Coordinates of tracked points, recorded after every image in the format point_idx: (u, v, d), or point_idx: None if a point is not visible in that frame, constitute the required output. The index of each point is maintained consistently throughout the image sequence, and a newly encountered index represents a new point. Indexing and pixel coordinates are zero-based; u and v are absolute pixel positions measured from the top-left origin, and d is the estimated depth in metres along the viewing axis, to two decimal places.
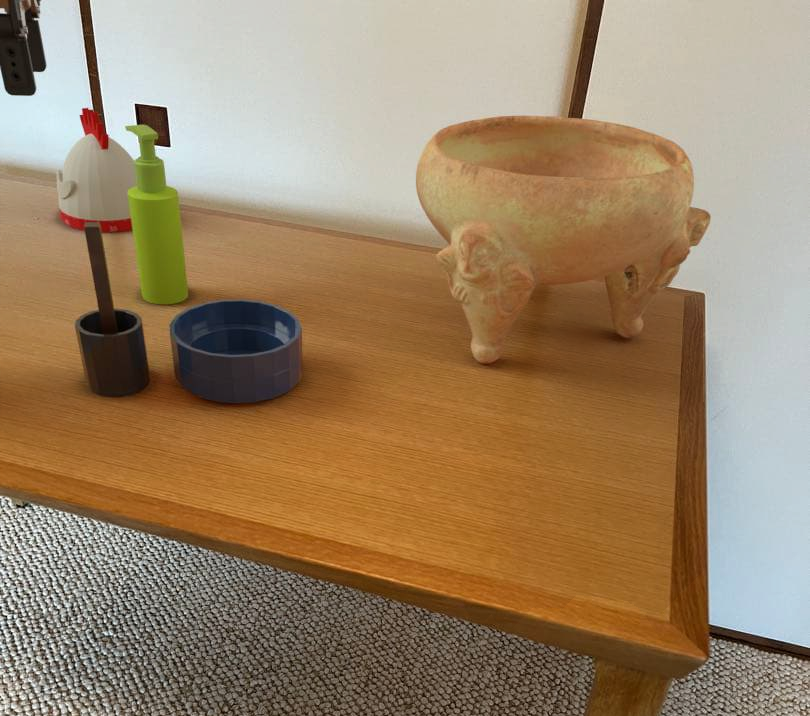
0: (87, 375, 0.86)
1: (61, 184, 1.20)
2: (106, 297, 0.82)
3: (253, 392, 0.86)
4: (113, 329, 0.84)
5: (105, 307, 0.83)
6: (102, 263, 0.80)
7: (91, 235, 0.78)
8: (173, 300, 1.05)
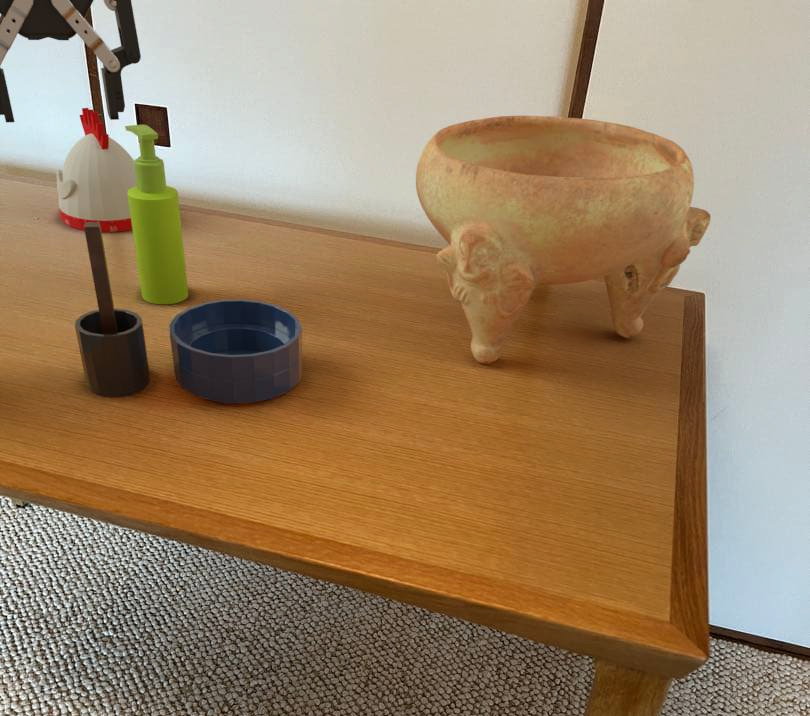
0: (87, 375, 0.86)
1: (61, 184, 1.20)
2: (106, 297, 0.82)
3: (253, 392, 0.86)
4: (113, 329, 0.84)
5: (105, 307, 0.83)
6: (102, 263, 0.80)
7: (91, 235, 0.78)
8: (173, 300, 1.05)
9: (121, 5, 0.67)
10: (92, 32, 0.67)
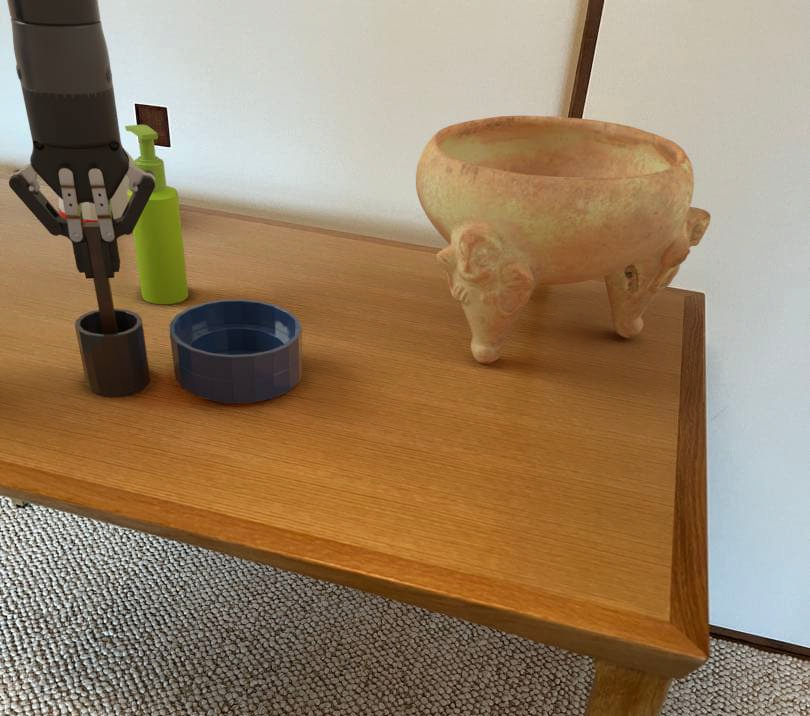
0: (87, 375, 0.86)
1: None
2: (106, 297, 0.82)
3: (253, 392, 0.86)
4: (113, 329, 0.84)
5: (105, 307, 0.83)
6: (102, 263, 0.80)
7: (91, 235, 0.78)
8: (173, 300, 1.05)
9: (140, 194, 0.76)
10: (107, 208, 0.76)
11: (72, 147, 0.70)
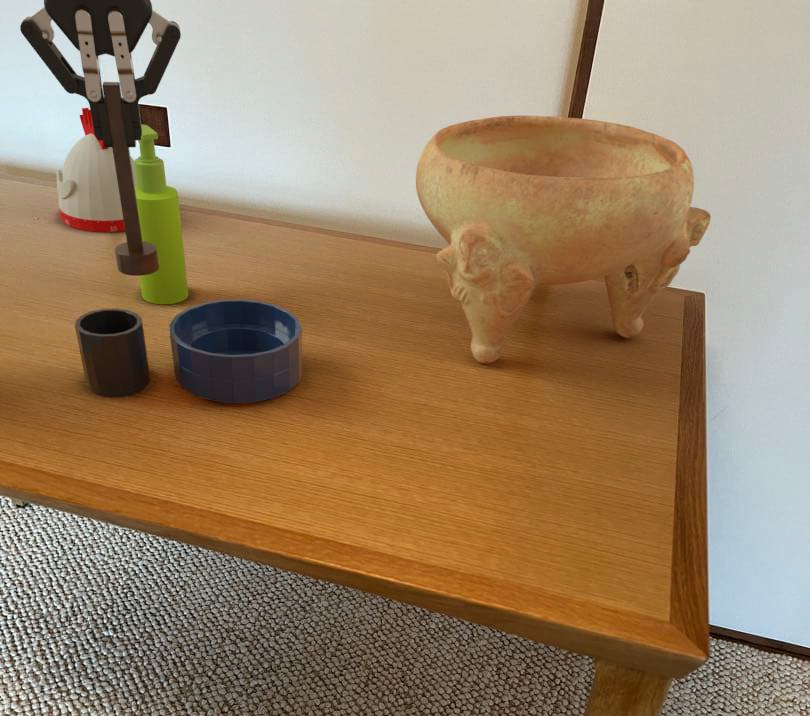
0: (87, 375, 0.86)
1: (61, 184, 1.20)
2: (126, 171, 0.75)
3: (253, 392, 0.86)
4: (133, 210, 0.77)
5: (125, 182, 0.76)
6: (122, 129, 0.73)
7: (110, 95, 0.71)
8: (173, 300, 1.05)
9: (164, 45, 0.69)
10: (128, 61, 0.69)
11: None
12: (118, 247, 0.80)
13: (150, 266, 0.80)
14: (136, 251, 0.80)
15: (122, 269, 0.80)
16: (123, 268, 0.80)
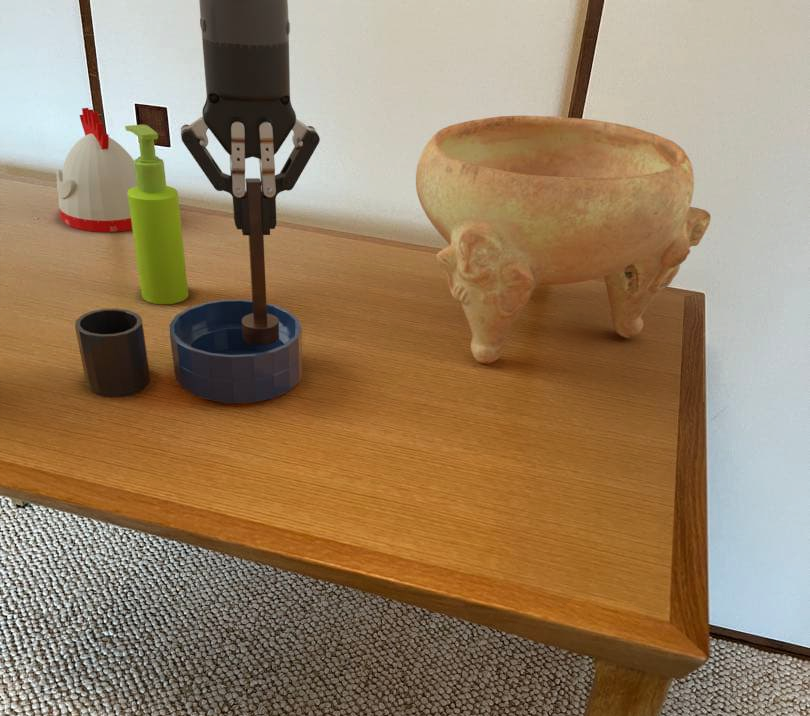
0: (87, 375, 0.86)
1: (61, 184, 1.20)
2: (259, 255, 0.83)
3: (253, 392, 0.86)
4: (262, 288, 0.85)
5: (257, 265, 0.84)
6: (260, 219, 0.81)
7: (252, 191, 0.79)
8: (173, 300, 1.05)
9: (305, 149, 0.77)
10: (272, 163, 0.77)
11: (250, 99, 0.71)
12: (244, 319, 0.88)
13: (273, 337, 0.88)
14: (261, 323, 0.88)
15: (248, 339, 0.88)
16: (249, 339, 0.88)
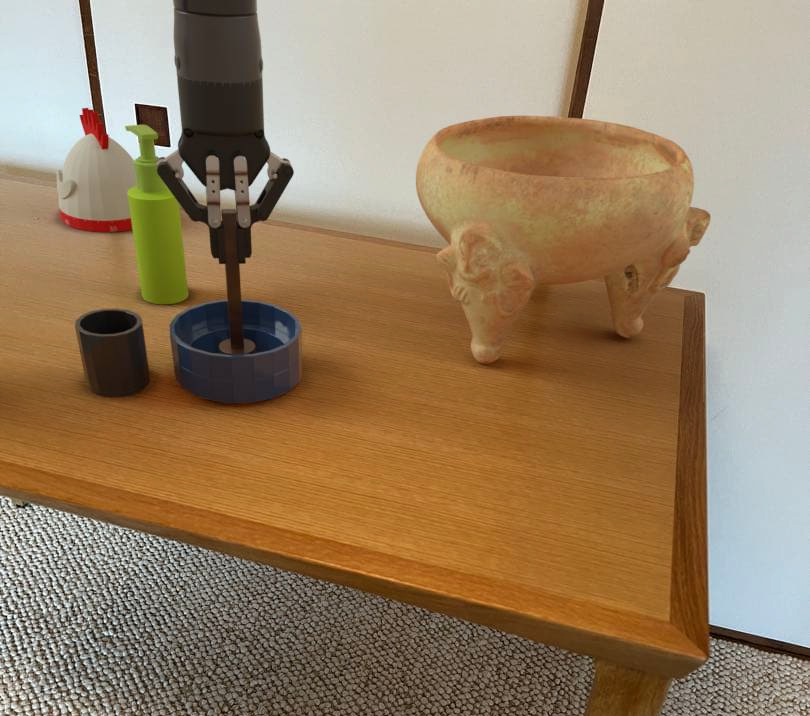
0: (87, 375, 0.86)
1: (61, 184, 1.20)
2: (235, 283, 0.84)
3: (253, 392, 0.86)
4: (239, 314, 0.87)
5: (234, 292, 0.85)
6: (236, 249, 0.82)
7: (228, 221, 0.80)
8: (173, 300, 1.05)
9: (279, 181, 0.78)
10: (247, 195, 0.78)
11: (224, 134, 0.73)
12: (221, 344, 0.89)
13: None
14: (238, 349, 0.89)
15: None
16: None
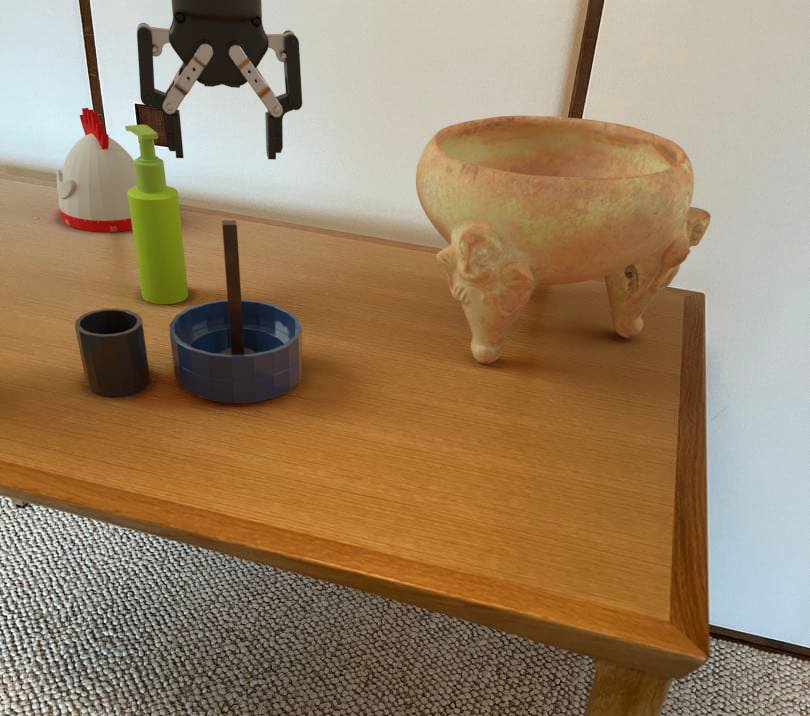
0: (87, 375, 0.86)
1: (61, 184, 1.20)
2: (236, 293, 0.85)
3: (253, 392, 0.86)
4: (239, 324, 0.87)
5: (234, 302, 0.86)
6: (236, 260, 0.83)
7: (228, 233, 0.81)
8: (173, 300, 1.05)
9: (290, 58, 0.72)
10: (262, 81, 0.72)
11: (218, 17, 0.67)
12: None
13: None
14: None
15: None
16: None
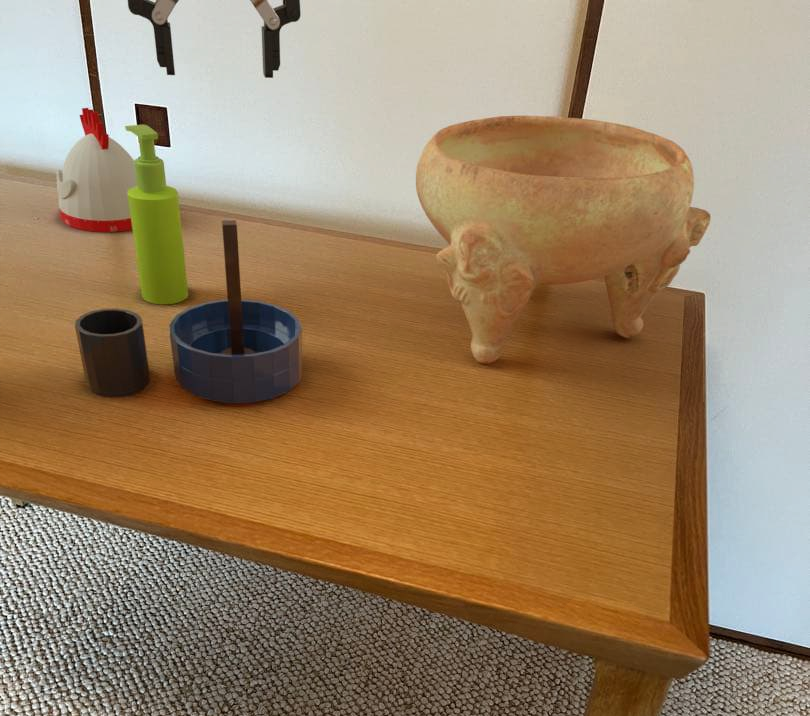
0: (87, 375, 0.86)
1: (61, 184, 1.20)
2: (236, 293, 0.85)
3: (253, 392, 0.86)
4: (239, 324, 0.87)
5: (234, 302, 0.86)
6: (236, 260, 0.83)
7: (228, 233, 0.81)
8: (173, 300, 1.05)
9: None
10: None
11: None
12: None
13: None
14: None
15: None
16: None
